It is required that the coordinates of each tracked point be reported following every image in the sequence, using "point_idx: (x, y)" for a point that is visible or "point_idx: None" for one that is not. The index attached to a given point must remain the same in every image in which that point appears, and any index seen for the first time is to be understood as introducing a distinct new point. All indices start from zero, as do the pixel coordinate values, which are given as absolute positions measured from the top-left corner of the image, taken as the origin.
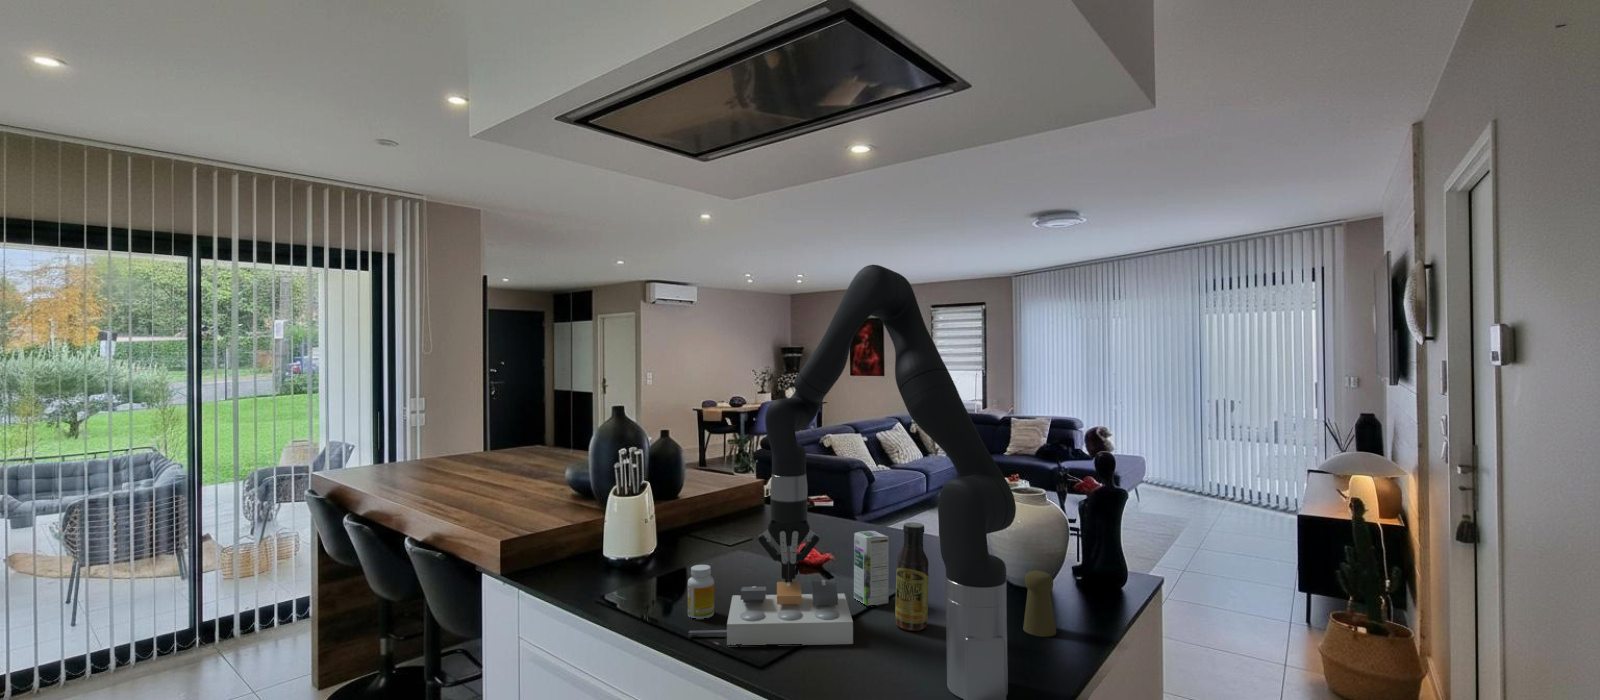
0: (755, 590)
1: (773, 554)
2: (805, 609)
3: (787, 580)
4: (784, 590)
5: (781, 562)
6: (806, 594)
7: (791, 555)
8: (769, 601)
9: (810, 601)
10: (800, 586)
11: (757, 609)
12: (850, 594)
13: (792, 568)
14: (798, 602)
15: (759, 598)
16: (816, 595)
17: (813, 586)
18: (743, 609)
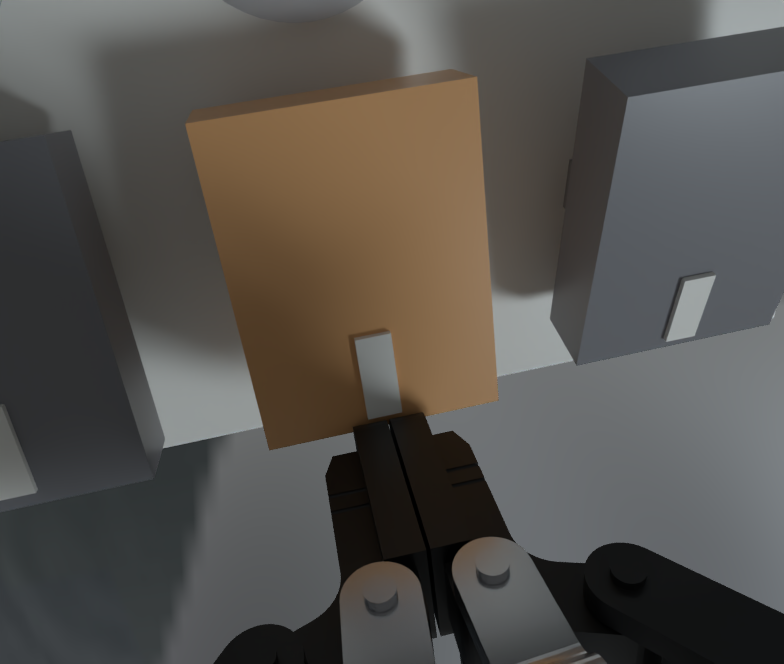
0: (731, 102)
1: (685, 610)
2: (151, 84)
3: (400, 421)
4: (406, 235)
5: (523, 558)
6: (226, 428)
7: (418, 660)
8: (511, 242)
9: (154, 294)
10: (248, 349)
11: (615, 36)
12: (22, 646)
13: (371, 532)
14: (227, 106)
15: (651, 53)
16: (15, 191)
17: (101, 369)
18: (733, 27)
